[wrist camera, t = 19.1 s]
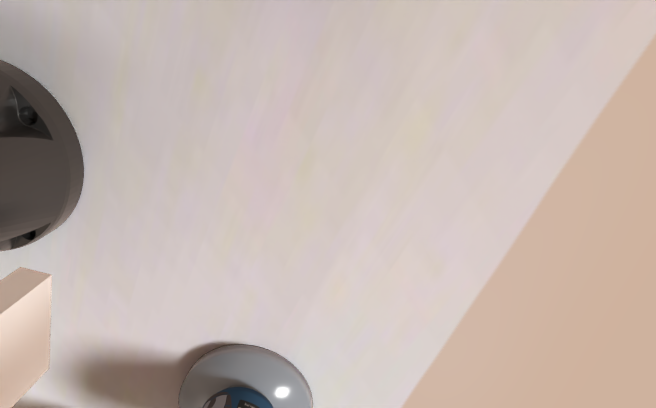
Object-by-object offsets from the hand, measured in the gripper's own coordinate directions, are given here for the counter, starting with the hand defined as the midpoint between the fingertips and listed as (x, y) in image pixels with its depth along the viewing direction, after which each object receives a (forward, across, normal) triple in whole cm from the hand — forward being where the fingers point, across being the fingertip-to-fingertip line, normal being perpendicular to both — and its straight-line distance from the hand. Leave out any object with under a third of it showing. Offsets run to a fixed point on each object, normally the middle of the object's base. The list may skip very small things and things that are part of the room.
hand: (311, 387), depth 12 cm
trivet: (+27, -4, -26) cm, 37 cm away
